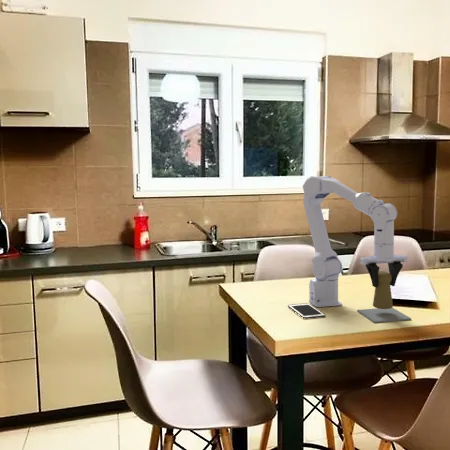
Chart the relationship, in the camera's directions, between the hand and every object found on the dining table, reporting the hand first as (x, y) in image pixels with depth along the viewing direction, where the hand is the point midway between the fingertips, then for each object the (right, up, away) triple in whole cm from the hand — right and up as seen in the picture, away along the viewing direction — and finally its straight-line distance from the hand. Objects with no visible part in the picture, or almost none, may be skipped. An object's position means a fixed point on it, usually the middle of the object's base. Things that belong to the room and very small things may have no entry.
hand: (383, 286), depth 148 cm
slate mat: (0, -9, +1) cm, 10 cm away
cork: (0, -7, +2) cm, 7 cm away
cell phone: (-23, -10, +8) cm, 26 cm away
